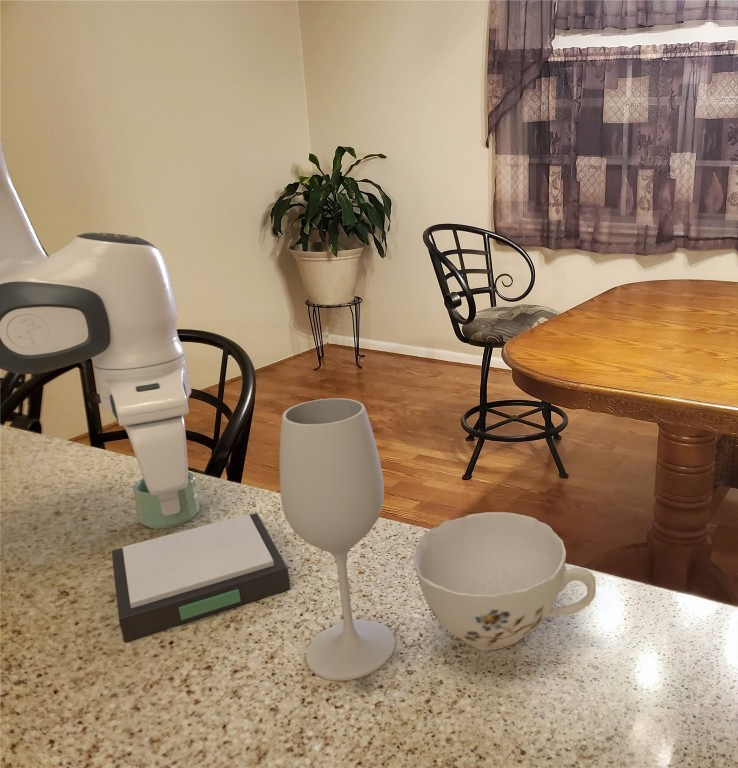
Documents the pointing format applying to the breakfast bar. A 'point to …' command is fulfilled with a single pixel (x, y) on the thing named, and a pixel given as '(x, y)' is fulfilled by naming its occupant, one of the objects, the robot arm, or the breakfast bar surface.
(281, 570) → the scale
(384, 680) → the breakfast bar surface
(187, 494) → the bowl
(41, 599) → the breakfast bar surface
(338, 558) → the wineglass
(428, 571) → the teacup
